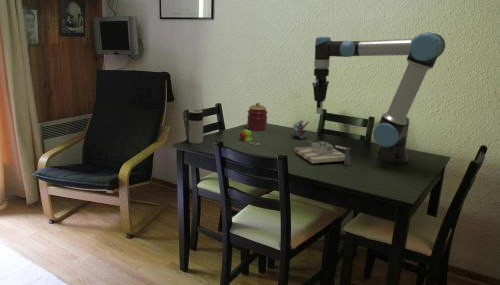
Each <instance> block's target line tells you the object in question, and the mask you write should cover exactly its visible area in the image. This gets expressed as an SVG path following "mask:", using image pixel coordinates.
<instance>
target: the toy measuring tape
mask: <svg viewBox="0 0 500 285" xmlns="http://www.w3.org/2000/svg"><path fill="white" fill-rule="evenodd" d="M239 137H240V138H239V139H240V140H242V141H244V142H246V143H250V144H252V143H251V142H250V141H253V140H254V139H253V133H252V131H251V130H248V129H242V130H241V131H240V133H239ZM254 145H255V147H256V146H257V147H258V145H259V146H260V143H259V142H258V143H256V144H254Z"/></svg>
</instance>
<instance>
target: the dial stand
mask: <svg viewBox="0 0 500 285" xmlns="http://www.w3.org/2000/svg"><path fill="white" fill-rule="evenodd" d="M335 148H338V149H342V150H345V153H344V154H345V161H344V164H343V165H344V166H347V167H348V166H350V165H351V157H352V156H351V155H352V148H350V147H345V146H341V145H335Z"/></svg>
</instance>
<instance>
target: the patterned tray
mask: <svg viewBox="0 0 500 285" xmlns="http://www.w3.org/2000/svg"><path fill="white" fill-rule="evenodd" d="M312 143H314V142H313V141H311V140H309V141H306V144H305V145H306V146H303V147H301V146H300V147H294V153H296V154H297V155H299V156H301V157H302V158H303V159H305V160H306V161H308V162H309V163H310V164H319V163H332V162H343V161H345V153H343V152H341V151H339V150H337V149H335V148H334V149H333V154H324V155H318V154H317V153H315V152H313V151H312Z"/></svg>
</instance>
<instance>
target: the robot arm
mask: <svg viewBox="0 0 500 285" xmlns="http://www.w3.org/2000/svg"><path fill="white" fill-rule="evenodd" d="M445 49H446V42H445V39H444V38H443V36H441V35H440V34H438V33H435V32H429V31H427V32H422V33H420V34H418V35H417V36H414V37H413V38H404V39H403V38H399V39H375V40H374V39H373V40H372V39H371V40H334V41H333V40H332V38H331V37H330V36H317V37H316V38H315V45H314V62H313V63H314V69H313V77H315V81H314V82H312V88H313V99H314V102H316V110H315V111H316V114H317V115H322V114H323V110H324V109H323V108H324V102H325V101H326V99H327V98H326V97H327V94H328V93H327V91H328V87H329V83H330V81H328V80H327V77H329V76H330V74H329V73H330V69H329V68H330V59H331V58H330V57H336V58H337V57H338V58H339V57H340V58H341V57H342V58H348V57H349V58H351V57H372V56H373V57H375V56H376V57H379V56H380V57H381V56H382V57H383V56H407V57H406V61H407V66H406V68H405V70H404V73H403V75H402V78H401V80H400V82H399V85H398V87H397V89H396V90H395V91H396V92H395V94H394V96H393V98H392V101H391V103H390V105H389V107H388V110H387V111H386V112H385V113H383V114H382V115H381V117H380V119H379V122H378V124H377V125H376V126H375V127H374V129H373V130H372V136H373V140H374V142H375V143H376V144H377V145H379V148H378V150H377V153H376V156H375V157H376V159H377V160H378V161H381V162H384V163H388V164H397V165H398V164H399V165H400V164H406V163H408V159H409V157H408V152H407V146H406V145H407V141H408V140H407V139H408V132H409V125H410V118H409V117H408V114H409V111H410V109H411V107H412V105H413V103H414V101H415V98H416V96H417V94H418V92H419V90H420V89H421V88H420V87H421V86H422V83H423V82H424V80H425V77H426V75H427V72H428V71H430V70H431V69H433V68H434V66H435V64H436V62H437V59H438V58H439V57H440V56H441V55H443V54H444V51H445Z"/></svg>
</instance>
